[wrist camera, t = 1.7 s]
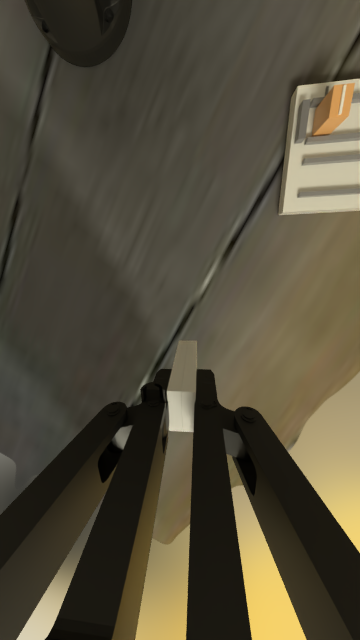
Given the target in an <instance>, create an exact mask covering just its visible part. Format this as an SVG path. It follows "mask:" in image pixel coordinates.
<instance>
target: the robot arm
mask: <svg viewBox="0 0 360 640" xmlns="http://www.w3.org/2000/svg"><path fill="white" fill-rule="evenodd" d="M25 2H26V5H27V7H28V9H29V12H30V14H31V16H32V18H33V20H34V21H35V23H36V25H37V27H38V28H39V30H40V31H41V33H42V34H43V36H44V37H45V38H46V40H47V41H48V43H49V44H50V46H51V47H52V48H53V49H54V51H55V52H56V53H57V54H58V55H59V56H61V57H62V58H63V59H64V60H66V61H68V62H69V63H71V64H74V65H77V66H82V67H90V66H95V65H98V64H100V63H102V62H104V61H105V60H107V59H108V58H109V57H110V56H111V55H112V54H113V53H114V52H115V51H116V49H117V48H118V46H119V45H120V43H121V41H122V39H123V37H124V35H125V32H126V30H127V26H128V23H129V19H130V13H131V5H132V0H25ZM141 398H142V403H141V404H139V405H137V406H133V407H128V408H127V407H126V405H125V404H124V403H122V402H113V403H110V404H108V405H106V406H105V407H104V408H103V409H102V410H101V411H100V412H99V413H98V414H97V415H96V416H95V417H94V418H93V419H92V420H91V421H90V422H89V423H88V424H87V425H86V427H85V428H84V429H83V430H82V431H81V432H80V433H79V434H78V435H77V436H76V437H75V438H74V439H73V440H72V441H71V442H70V443H69V444H68V445H67V446H66V447H65V448H64V449H63V450H62V451H61V452H60V453H59V455H58V456H57V457H56V458H55V459H54V460H53V461H52V462H51V463H50V464H49V465H48V466H47V467H46V468H45V469H44V470H43V471H42V472H41V473H40V474H39V475H38V476H37V477H36V478H35V479H34V480H33V482H32V483H31V484H30V485H29V486H28V487H27V488H26V489H25V490H24V491H23V492H22V493H21V494H20V495H19V496H18V497H17V498H16V499H15V500H14V501H13V502H12V503H11V504H10V505H9V506H8V508H7V509H6V510H5V511H4V512H3V513H2V514H1V515H0V640H16V639H17V638H18V636H19V634H20V633H21V631H22V629H23V628H24V626H25V624H26V623H27V621H28V619H29V618H30V616H31V614H32V613H33V611H34V610H35V608H36V606H37V605H38V603H39V601H40V600H41V598H42V596H43V594H44V593H45V591H46V590H47V588H48V586H49V585H50V583H51V582H52V580H53V578H54V577H55V575H56V573H57V572H58V570H59V568H60V567H61V565H62V563H63V562H64V560H65V558H66V557H67V555H68V554H69V552H70V550H71V549H72V547H73V545H74V543H75V542H76V540H77V538H78V537H79V535H80V534H81V532H82V530H83V529H84V527H85V526H86V524H87V522H88V521H89V519H90V517H91V516H92V514H93V512H94V510H95V509H96V507H97V506H98V504H99V502H100V501H101V499H102V498H103V496H104V494H105V493H106V494H105V497H104V499H103V502H102V504H101V507H100V510H99V512H98V515H97V517H96V520H95V522H94V525H93V527H92V530H91V532H90V535H89V537H88V540H87V543H86V545H85V548H84V550H83V553H82V555H81V558H80V561H79V563H78V565H77V568H76V571H75V573H74V576H73V578H72V581H71V583H70V586H69V588H68V591H67V593H66V596H65V598H64V601H63V603H62V606H61V609H60V611H59V614H58V616H57V619H56V621H55V623H54V626H53V628H52V629H51V631H50V633H49V635H48V637H47V638H46V639H45V640H135V636H136V630H137V624H138V618H139V612H140V606H141V599H142V594H143V588H144V582H145V576H146V570H147V564H148V558H149V551H150V546H151V540H152V534H153V528H154V522H155V516H156V510H157V504H158V498H159V491H160V485H161V479H162V473H163V467H164V461H165V455H166V449H167V443H168V428H169V431H183V432H193V461H192V489H191V517H190V546H189V547H190V548H189V574H188V575H189V576H188V603H187V631H186V640H252V637H251V630H250V623H249V615H248V608H247V602H246V594H245V587H244V579H243V572H242V565H241V557H240V550H239V543H238V536H237V528H236V522H235V514H234V506H233V499H232V492H231V485H230V477H229V470H228V463H227V456H226V454H229V455H231V456H232V458H233V461H234V463H235V465H236V468H237V470H238V473H239V475H240V478H241V480H242V483H243V485H244V487H245V490H246V492H247V495H248V497H249V500H250V502H251V505H252V507H253V510H254V512H255V514H256V517H257V519H258V522H259V524H260V527H261V529H262V531H263V534H264V536H265V539H266V541H267V544H268V546H269V549H270V551H271V554H272V556H273V558H274V561H275V563H276V566H277V568H278V571H279V573H280V576H281V578H282V580H283V582H284V585H285V588H286V590H287V593H288V595H289V597H290V600H291V602H292V605H293V607H294V610H295V612H296V615H297V617H298V620H299V622H300V625H301V627H302V629H303V632H304V634H305V636H306V639H307V640H360V553H359V551H358V550H357V549H356V547H355V546H354V545H353V543H352V542H351V540H350V539H349V537H348V536H347V535H346V533H345V532H344V530H343V529H342V528H341V526H340V525H339V523H338V522H337V521H336V519H335V518H334V517H333V515H332V513H331V512H330V511H329V510H328V508H327V507H326V505H325V504H324V502H323V501H322V499H321V498H320V497H319V495H318V494H317V492H316V491H315V490H314V488H313V487H312V485H311V484H310V483H309V481H308V480H307V478H306V477H305V476H304V474H303V473H302V471H301V470H300V469H299V467H298V466H297V464H296V463H295V462H294V460H293V459H292V457H291V456H290V454H289V453H288V452H287V450H286V449H285V447H284V446H283V445H282V443H281V442H280V440H279V439H278V438H277V436H276V435H275V433H274V432H273V431H272V429H271V428H270V426H269V425H268V424H267V422H266V421H265V419H264V418H263V417H262V415H261V414H260V413H259V412H258V411H257V410H255V409H253V408H250V407H240V408H238V409H236V410H235V411H232V410H229V409H226V408H224V407H223V406H221V405H220V403H219V402H218V399H217V393H216V385H215V378H214V373H213V372H212V371H211V370H203V369H197V341H179V343H178V347H177V351H176V355H175V359H174V363H173V368H172V369H160V370H159V371H158V372H157V373H156V376H155V379H154V381H153V382H150V383H147V384H145V385H144V386H143V387H142V388H141ZM106 491H107V492H106Z"/></svg>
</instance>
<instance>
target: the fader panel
mask: <svg viewBox="0 0 360 640" xmlns="http://www.w3.org/2000/svg"><path fill="white" fill-rule="evenodd" d="M349 83H355V86H354V91H353V97H352V102H351V107H350V113H349V116H348V117H347V118H346V119H345V120H344V121H343V122H342V123H341V124H340V125H339V126H338V127H337V128H336V129H335V130H334V131H333V132H332V133H331V134H329V135H326V136H315V137H311V136H312V129H313V122H314V115H315V109H316V108H317V107H318V105H319V104H320V103H321V102H322V100H323V99H324V98H325V96H326V95H327V94H328V93H329V91H330V90H331V89H332V87H333V86H334V85H340V84H349ZM345 211H360V79H352V80H344V81H335V82H327V83H318V84H310V85H302V86H297V88H296V90H295V92H294V93H293V95H292V97H291V103H290V112H289V121H288V130H287V139H286V148H285V157H284V166H283V175H282V184H281V193H280V201H279V210H278V215H290V214H308V213H326V212H345Z"/></svg>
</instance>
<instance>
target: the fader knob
mask: <svg viewBox="0 0 360 640" xmlns="http://www.w3.org/2000/svg"><path fill="white" fill-rule="evenodd" d="M354 86H355V83H349V84H340V85H334V86H333V87H332V89H331V90H330V91H329V93H328V94H327V95H326V96H325V98H324V99H323V100H322V102H321V103H320V104H319V105H318V107H317V108H316V109H315V115H314V122H313V129H312V136H311V137H315V136H326V135H329V134H331V133H332V132H333V131H334V130H335V129H336V128H337V127H338V126H339V125H340V124H341V123H342V122H343V121H344V120H345V119H346V118H347V117H348V116H349V113H350V107H351V102H352V97H353V91H354Z"/></svg>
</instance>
